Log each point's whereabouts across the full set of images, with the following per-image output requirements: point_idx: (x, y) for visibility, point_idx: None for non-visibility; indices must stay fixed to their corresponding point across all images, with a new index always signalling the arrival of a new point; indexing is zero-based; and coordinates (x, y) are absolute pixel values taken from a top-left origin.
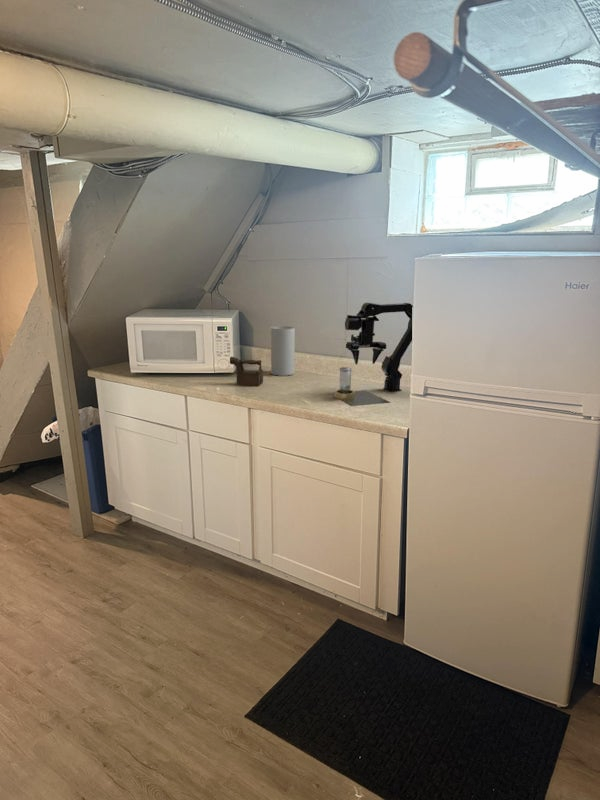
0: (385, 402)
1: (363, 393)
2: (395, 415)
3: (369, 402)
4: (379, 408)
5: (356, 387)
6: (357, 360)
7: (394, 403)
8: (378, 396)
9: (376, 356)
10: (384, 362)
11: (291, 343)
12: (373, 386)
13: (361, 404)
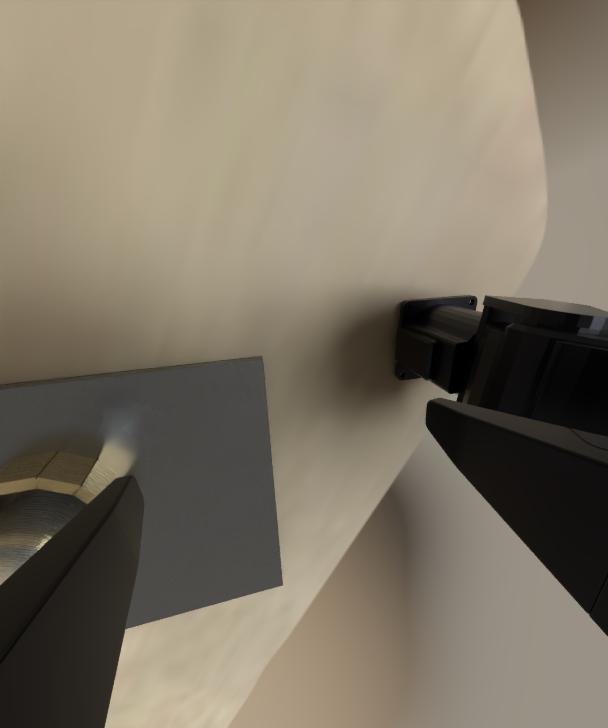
0: (259, 585)
1: (216, 432)
2: (232, 682)
3: (184, 589)
4: (208, 625)
5: (247, 195)
6: (117, 597)
7: (303, 563)
8: (274, 497)
9: (531, 548)
10: (569, 401)
11: None
12: (383, 205)
13: (131, 620)
